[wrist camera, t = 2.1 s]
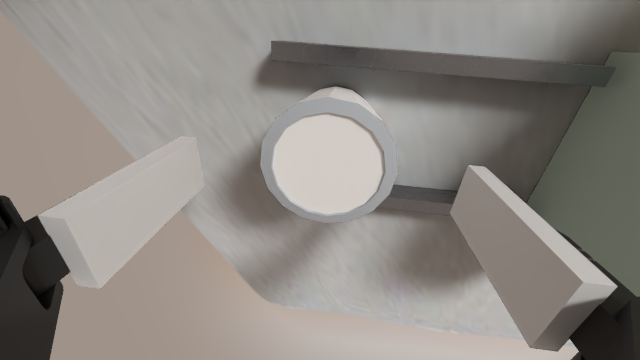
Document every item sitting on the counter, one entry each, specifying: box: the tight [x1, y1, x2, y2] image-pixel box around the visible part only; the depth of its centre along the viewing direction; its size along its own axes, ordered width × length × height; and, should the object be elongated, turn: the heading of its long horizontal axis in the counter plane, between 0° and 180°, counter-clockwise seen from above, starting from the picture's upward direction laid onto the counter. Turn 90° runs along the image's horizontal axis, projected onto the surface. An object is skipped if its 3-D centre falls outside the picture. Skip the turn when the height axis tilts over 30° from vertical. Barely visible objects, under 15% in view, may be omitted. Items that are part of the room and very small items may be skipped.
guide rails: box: [271, 41, 617, 216], centre depth 17 cm, size 10×18×2 cm, turn 86°
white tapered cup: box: [260, 86, 399, 223], centre depth 16 cm, size 7×7×7 cm
